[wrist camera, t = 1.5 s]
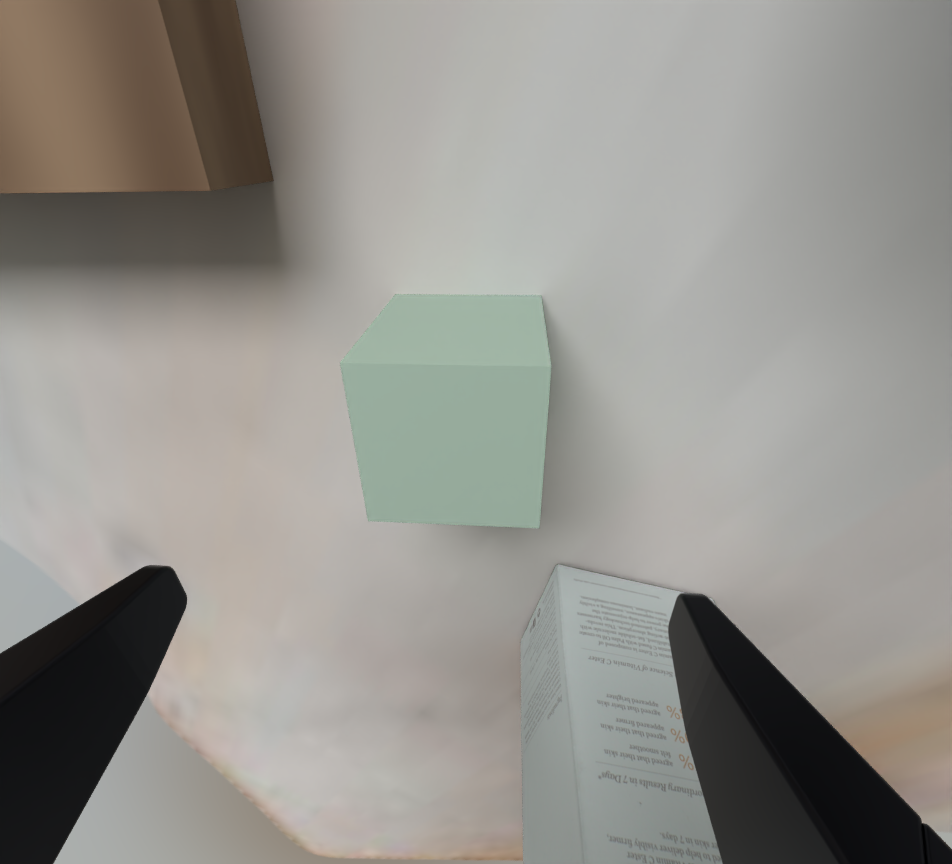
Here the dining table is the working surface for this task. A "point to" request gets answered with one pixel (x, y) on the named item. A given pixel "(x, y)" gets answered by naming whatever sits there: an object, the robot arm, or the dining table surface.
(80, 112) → the walnut base
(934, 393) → the dining table surface
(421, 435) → the green cube
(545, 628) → the small box
